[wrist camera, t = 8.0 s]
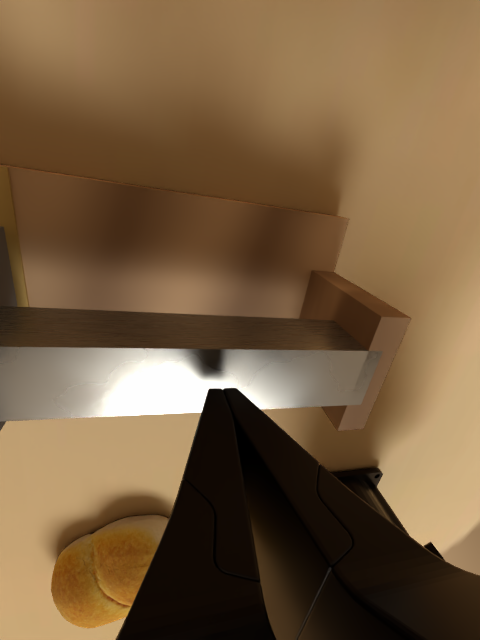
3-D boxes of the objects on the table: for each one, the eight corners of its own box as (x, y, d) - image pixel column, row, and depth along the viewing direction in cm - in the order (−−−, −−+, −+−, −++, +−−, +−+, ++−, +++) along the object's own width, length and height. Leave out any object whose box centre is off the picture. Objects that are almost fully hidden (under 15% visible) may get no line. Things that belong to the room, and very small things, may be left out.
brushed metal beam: (344, 311, 13) (392, 348, 10) (324, 369, 14) (362, 416, 11) (-303, 277, 7) (-552, 334, 5) (-242, 374, 9) (-412, 461, 6)
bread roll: (33, 554, 20) (6, 633, 17) (149, 494, 20) (146, 561, 17) (107, 592, 24) (98, 663, 21) (204, 542, 24) (211, 604, 21)
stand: (338, 216, 14) (443, 243, 9) (291, 383, 18) (344, 471, 13) (-244, 127, 9) (-868, 60, 4) (-125, 392, 13) (-327, 549, 8)
